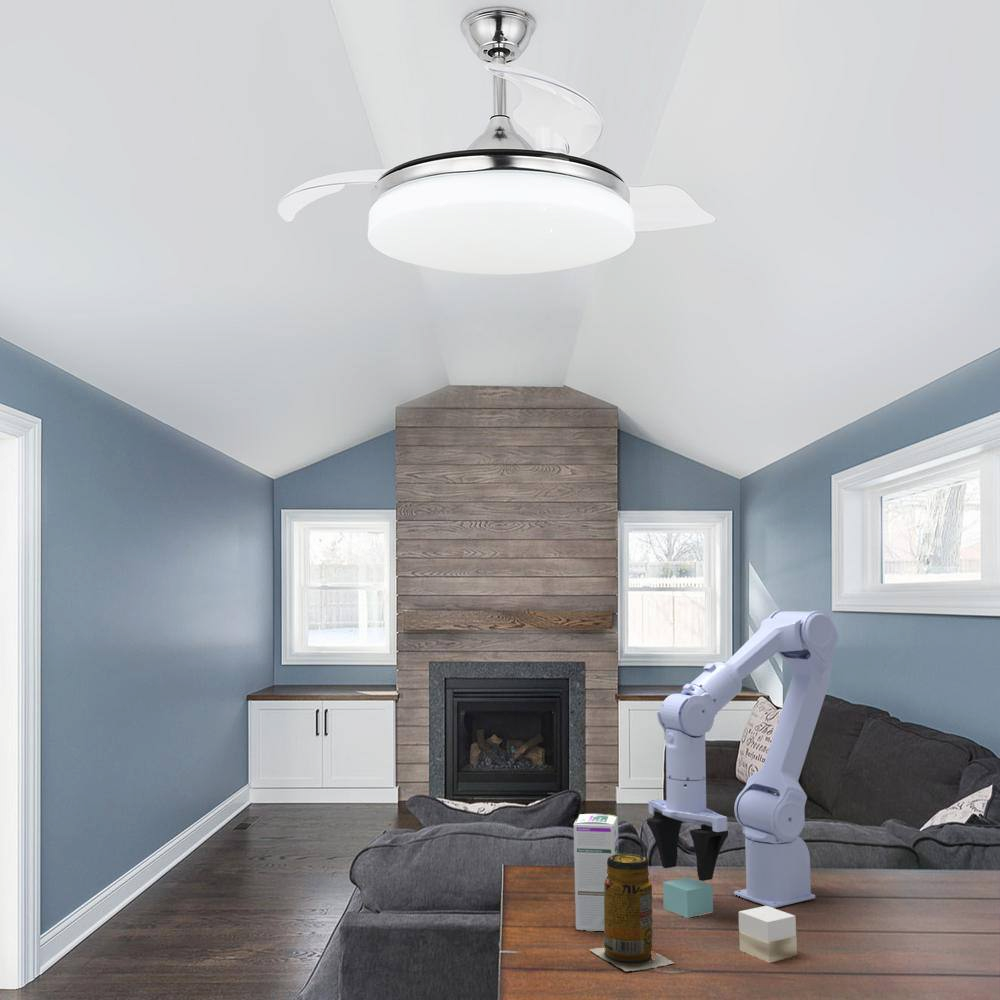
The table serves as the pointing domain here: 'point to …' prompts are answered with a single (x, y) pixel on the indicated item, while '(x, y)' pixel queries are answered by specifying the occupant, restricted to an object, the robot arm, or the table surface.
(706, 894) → the teal brick
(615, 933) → the condiment
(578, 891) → the syrup box
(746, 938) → the maple brick
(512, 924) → the table surface
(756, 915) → the white brick
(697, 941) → the table surface
